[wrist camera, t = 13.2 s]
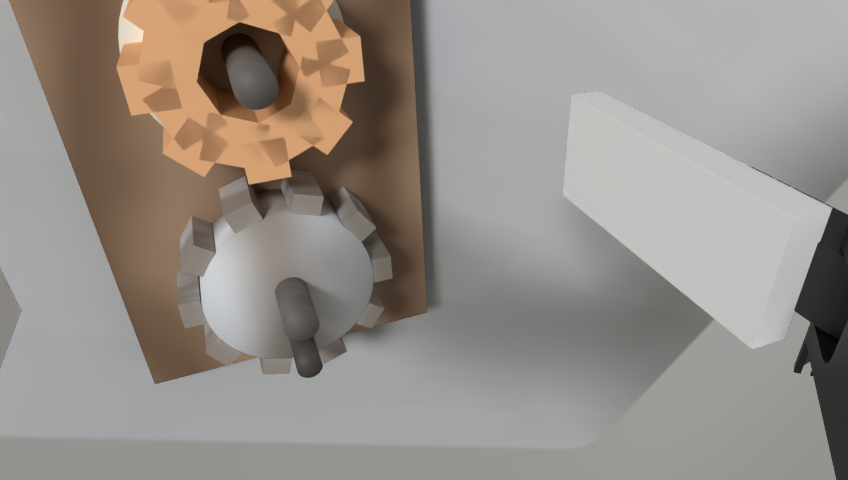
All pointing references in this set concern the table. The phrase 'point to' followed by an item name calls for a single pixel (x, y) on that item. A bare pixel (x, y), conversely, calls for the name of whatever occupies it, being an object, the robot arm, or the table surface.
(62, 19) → the gear board
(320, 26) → the loose gear
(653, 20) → the table surface
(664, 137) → the robot arm
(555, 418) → the table surface
